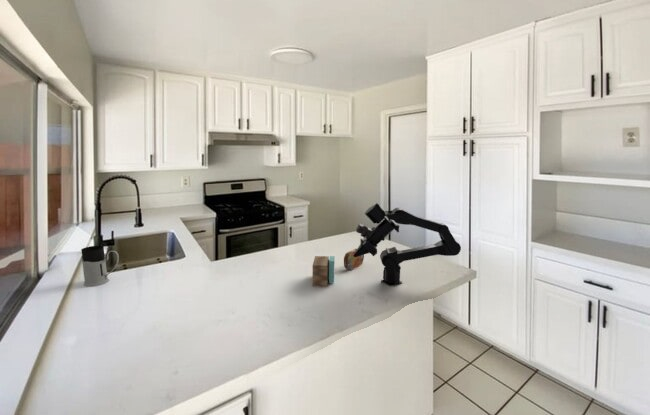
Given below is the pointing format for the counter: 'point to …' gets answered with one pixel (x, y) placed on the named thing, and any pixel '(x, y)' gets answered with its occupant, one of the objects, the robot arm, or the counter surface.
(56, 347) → the counter surface
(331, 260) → the teal flanged block
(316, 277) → the block
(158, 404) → the counter surface
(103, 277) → the grey black mug
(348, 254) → the tin
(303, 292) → the counter surface
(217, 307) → the counter surface
